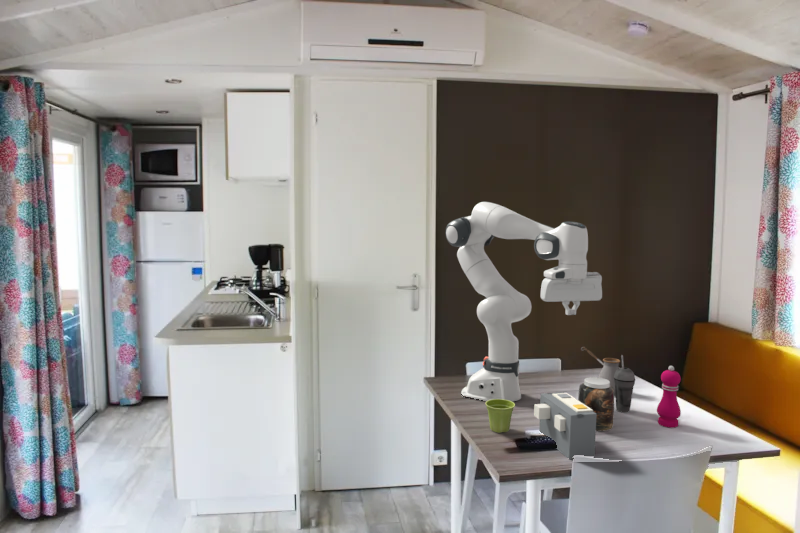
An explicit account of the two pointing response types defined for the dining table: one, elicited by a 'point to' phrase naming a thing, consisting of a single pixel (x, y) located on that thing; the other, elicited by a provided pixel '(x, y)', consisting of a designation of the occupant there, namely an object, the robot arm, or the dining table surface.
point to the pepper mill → (669, 399)
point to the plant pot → (499, 414)
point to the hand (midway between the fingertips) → (570, 314)
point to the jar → (599, 400)
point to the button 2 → (560, 422)
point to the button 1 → (542, 411)
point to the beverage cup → (624, 388)
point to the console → (570, 424)
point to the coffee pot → (607, 367)
